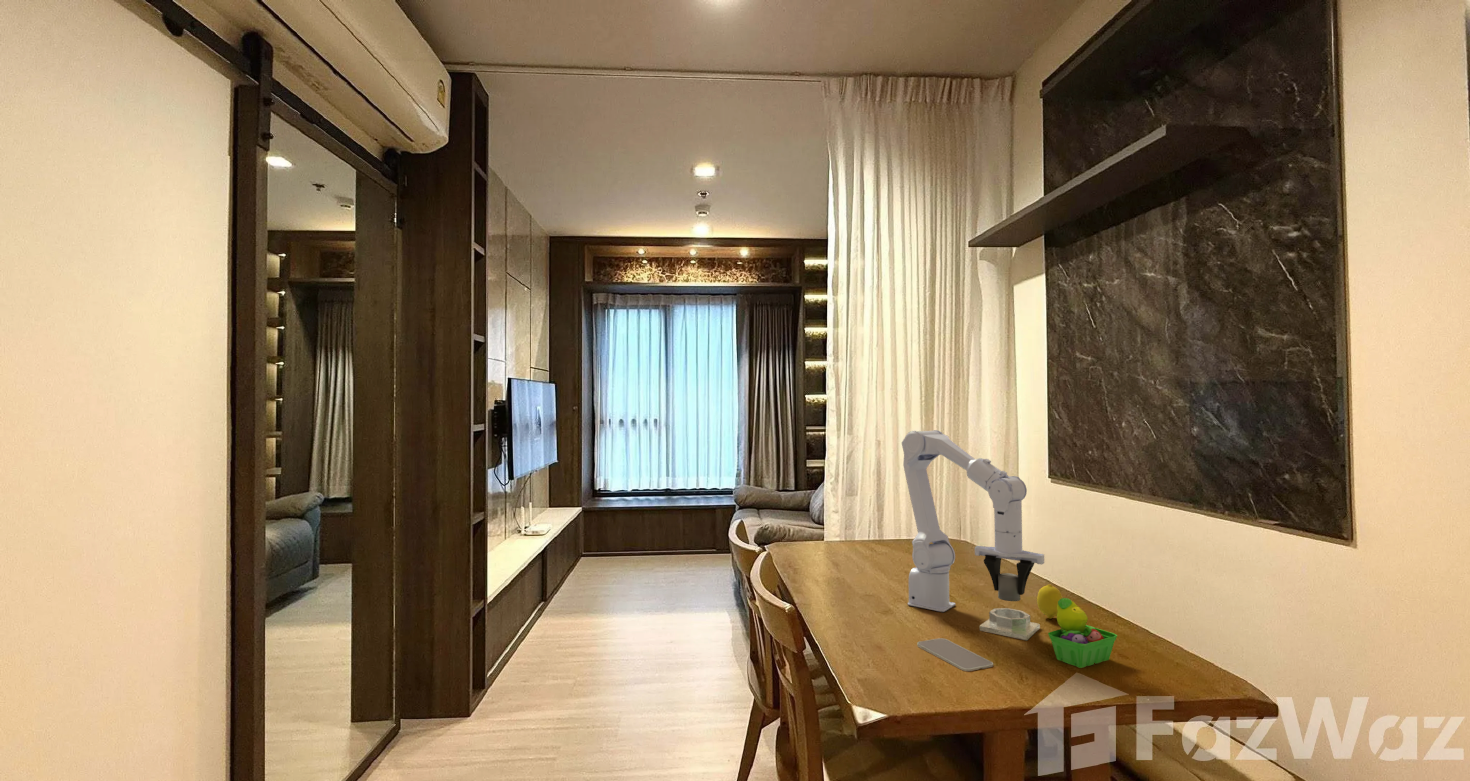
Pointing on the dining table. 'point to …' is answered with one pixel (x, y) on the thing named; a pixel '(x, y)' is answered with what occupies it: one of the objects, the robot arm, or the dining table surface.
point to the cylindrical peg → (1008, 587)
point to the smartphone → (954, 654)
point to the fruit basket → (1079, 637)
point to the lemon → (1048, 600)
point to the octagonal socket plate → (1010, 623)
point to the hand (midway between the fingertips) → (1009, 591)
